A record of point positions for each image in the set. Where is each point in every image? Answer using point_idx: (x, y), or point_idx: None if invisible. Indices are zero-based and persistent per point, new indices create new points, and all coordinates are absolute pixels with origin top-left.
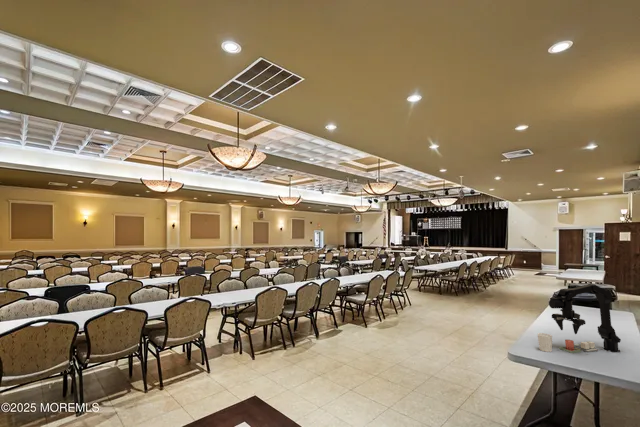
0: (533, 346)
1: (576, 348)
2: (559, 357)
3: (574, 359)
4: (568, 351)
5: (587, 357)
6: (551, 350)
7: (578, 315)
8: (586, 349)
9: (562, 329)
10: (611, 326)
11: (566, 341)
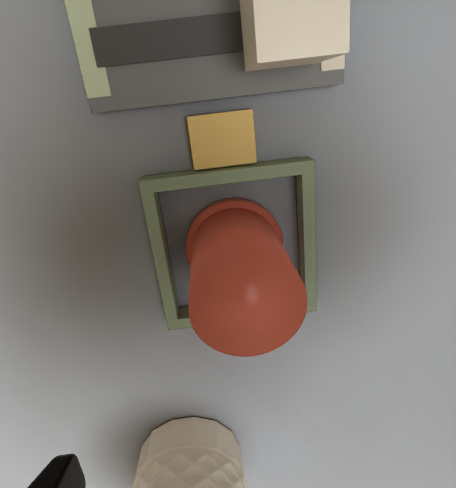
0: None
1: (209, 120)
2: (364, 462)
3: (437, 394)
4: None
5: (451, 243)
6: (236, 444)
7: None
8: None
9: (69, 477)
10: None
11: (246, 348)
